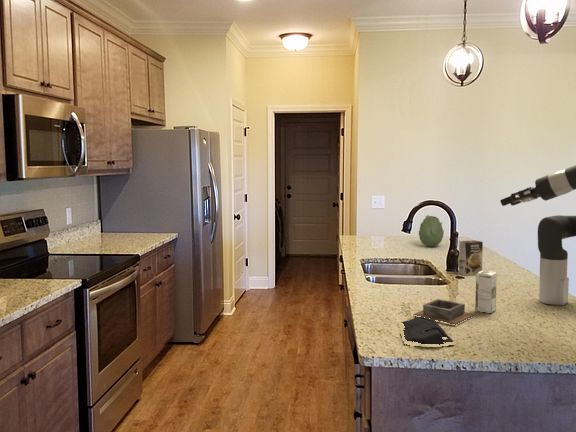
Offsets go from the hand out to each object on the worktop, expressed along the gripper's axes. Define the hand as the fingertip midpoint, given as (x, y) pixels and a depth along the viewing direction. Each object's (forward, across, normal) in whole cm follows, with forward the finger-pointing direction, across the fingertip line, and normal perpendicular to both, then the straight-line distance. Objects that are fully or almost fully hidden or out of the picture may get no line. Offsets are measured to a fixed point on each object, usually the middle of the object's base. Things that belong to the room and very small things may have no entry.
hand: (506, 203), depth 168 cm
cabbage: (+94, +120, +5) cm, 152 cm away
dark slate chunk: (+29, -29, -35) cm, 54 cm away
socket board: (+32, -8, -31) cm, 45 cm away
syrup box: (+23, +8, -34) cm, 42 cm away
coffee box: (+48, +61, -19) cm, 80 cm away
